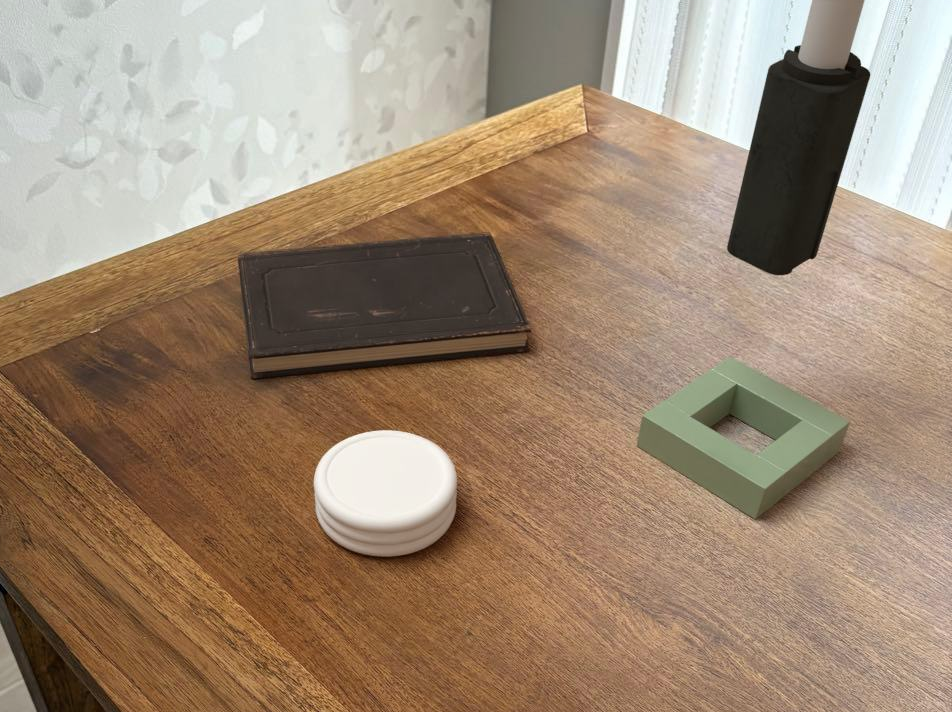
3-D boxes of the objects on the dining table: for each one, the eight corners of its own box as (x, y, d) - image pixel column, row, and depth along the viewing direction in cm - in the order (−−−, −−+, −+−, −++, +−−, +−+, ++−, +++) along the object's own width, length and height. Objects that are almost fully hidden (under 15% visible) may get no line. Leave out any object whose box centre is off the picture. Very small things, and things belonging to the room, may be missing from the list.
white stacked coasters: (443, 569, 75) (445, 533, 73) (300, 550, 76) (297, 513, 74) (465, 471, 82) (467, 435, 79) (334, 455, 83) (331, 418, 81)
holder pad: (722, 386, 89) (729, 355, 87) (839, 451, 84) (851, 420, 81) (636, 445, 84) (642, 414, 82) (755, 519, 79) (765, 488, 76)
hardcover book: (528, 351, 92) (531, 328, 91) (251, 379, 90) (248, 356, 88) (487, 250, 103) (489, 228, 102) (239, 272, 101) (236, 249, 99)
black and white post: (763, 224, 80) (864, -175, 63) (823, 253, 78) (947, -156, 60) (719, 249, 78) (812, -158, 60) (780, 279, 75) (896, -138, 58)
